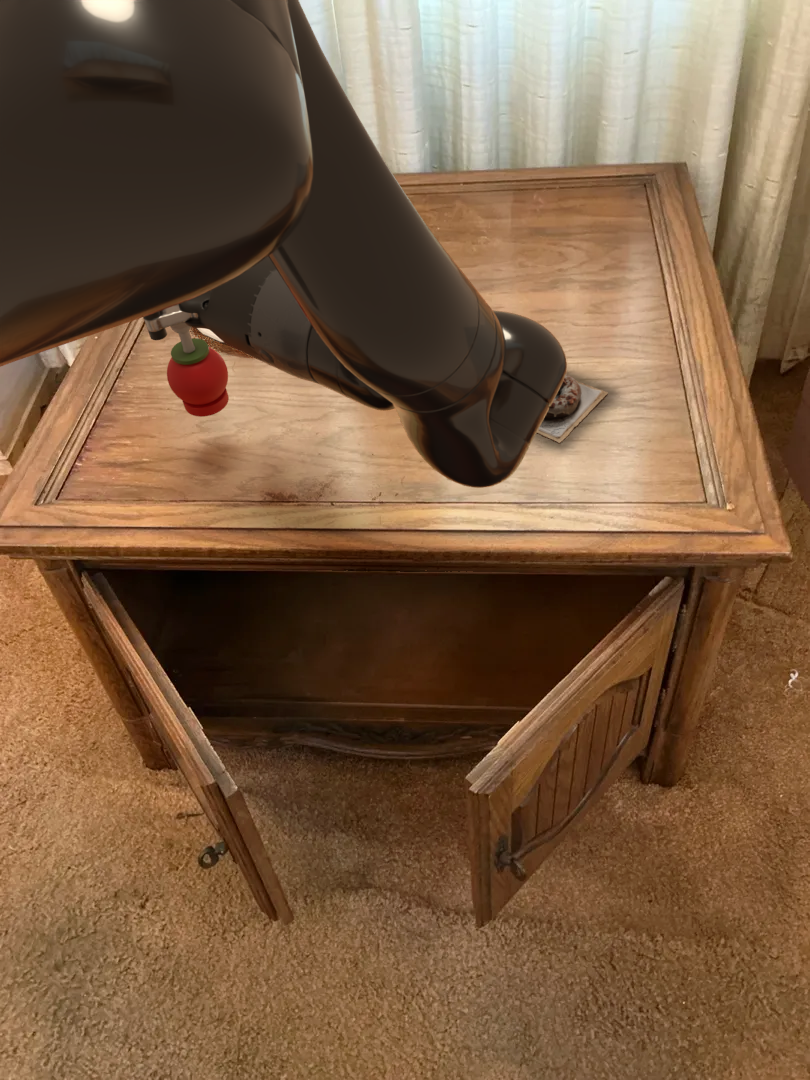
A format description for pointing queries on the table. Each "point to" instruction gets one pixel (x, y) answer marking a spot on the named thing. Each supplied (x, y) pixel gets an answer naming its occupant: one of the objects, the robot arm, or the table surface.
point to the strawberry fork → (197, 374)
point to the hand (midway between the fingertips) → (134, 247)
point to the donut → (569, 408)
